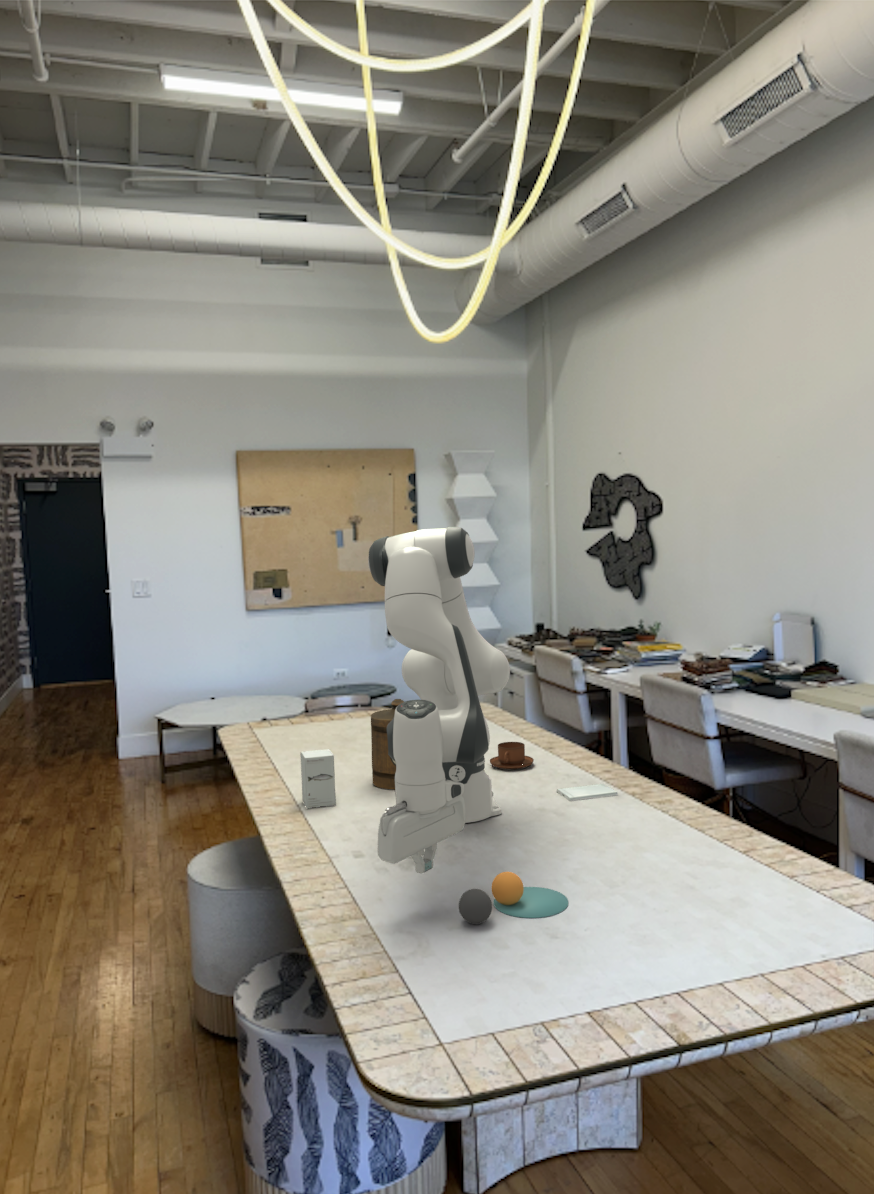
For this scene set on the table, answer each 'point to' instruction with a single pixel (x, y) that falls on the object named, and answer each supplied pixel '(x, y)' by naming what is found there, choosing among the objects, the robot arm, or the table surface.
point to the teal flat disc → (535, 903)
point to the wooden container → (382, 748)
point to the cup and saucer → (511, 756)
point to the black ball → (475, 906)
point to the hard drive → (587, 792)
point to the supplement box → (318, 778)
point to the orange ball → (507, 888)
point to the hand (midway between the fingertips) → (424, 870)
